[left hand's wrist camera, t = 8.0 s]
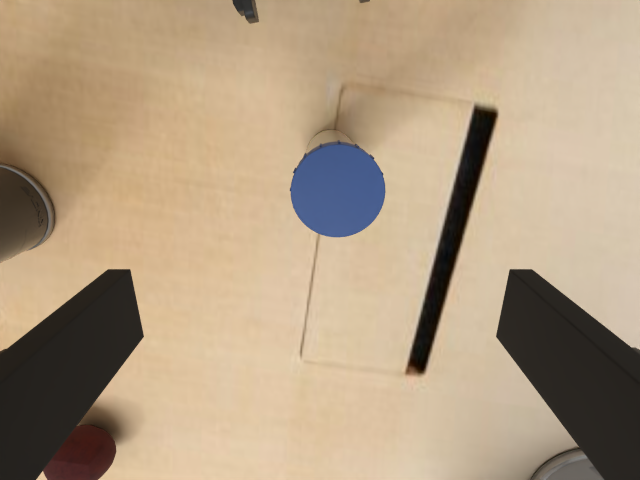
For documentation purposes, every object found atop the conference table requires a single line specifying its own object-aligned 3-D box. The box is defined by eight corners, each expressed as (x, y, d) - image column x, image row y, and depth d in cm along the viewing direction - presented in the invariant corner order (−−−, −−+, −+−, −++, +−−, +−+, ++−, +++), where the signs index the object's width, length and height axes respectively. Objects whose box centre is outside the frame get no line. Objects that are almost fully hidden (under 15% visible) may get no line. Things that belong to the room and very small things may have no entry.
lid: (368, 236, 23) (371, 246, 21) (284, 218, 23) (282, 227, 21) (391, 152, 21) (397, 156, 20) (302, 131, 21) (300, 133, 19)
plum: (66, 408, 48) (25, 457, 41) (126, 417, 48) (95, 466, 42) (69, 449, 50) (31, 501, 44) (126, 457, 51) (97, 509, 44)
